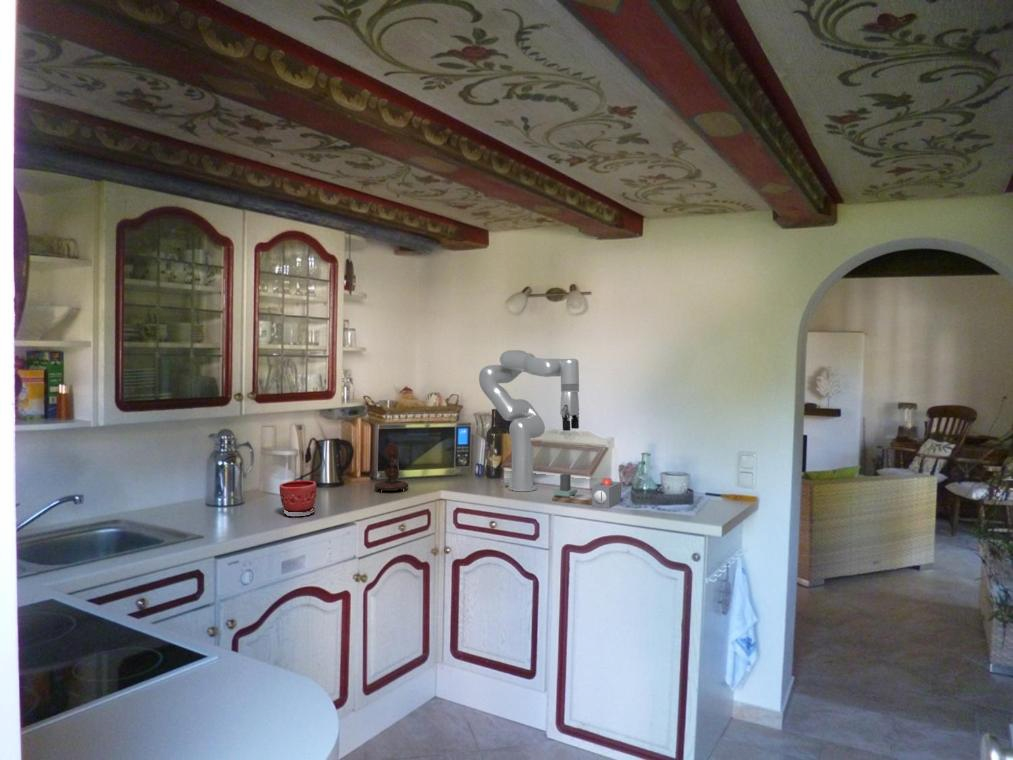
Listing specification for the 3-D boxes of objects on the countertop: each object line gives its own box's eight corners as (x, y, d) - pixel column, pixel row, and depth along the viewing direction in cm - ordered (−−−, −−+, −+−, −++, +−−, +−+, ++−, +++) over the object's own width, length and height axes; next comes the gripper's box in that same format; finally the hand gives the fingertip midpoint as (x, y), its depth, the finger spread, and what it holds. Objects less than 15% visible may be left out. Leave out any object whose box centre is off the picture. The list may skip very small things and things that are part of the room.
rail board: (551, 500, 294) (551, 495, 294) (560, 496, 302) (560, 491, 302) (594, 505, 285) (594, 499, 285) (602, 501, 293) (602, 495, 293)
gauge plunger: (601, 491, 286) (601, 479, 286) (604, 490, 290) (604, 477, 289) (609, 492, 285) (609, 480, 285) (612, 491, 288) (612, 478, 288)
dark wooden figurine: (410, 492, 310) (409, 446, 310) (375, 494, 307) (375, 447, 306) (406, 486, 325) (406, 442, 324) (373, 488, 321) (373, 443, 320)
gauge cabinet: (591, 506, 282) (591, 486, 282) (604, 500, 295) (604, 480, 295) (608, 508, 279) (608, 488, 279) (621, 501, 292) (621, 482, 292)
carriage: (553, 494, 294) (553, 475, 294) (561, 491, 301) (561, 472, 301) (569, 496, 291) (569, 476, 290) (577, 492, 298) (577, 473, 298)
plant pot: (286, 511, 275) (286, 479, 274) (320, 511, 274) (320, 480, 274) (274, 519, 262) (274, 486, 261) (310, 519, 261) (310, 486, 261)
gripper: (569, 387, 309) (569, 427, 309) (553, 389, 294) (554, 431, 294) (585, 387, 306) (586, 427, 306) (570, 389, 290) (571, 431, 291)
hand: (570, 429), depth 300 cm, fingers open, 9 cm apart
